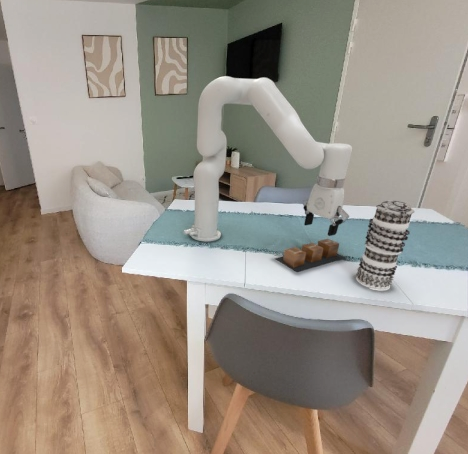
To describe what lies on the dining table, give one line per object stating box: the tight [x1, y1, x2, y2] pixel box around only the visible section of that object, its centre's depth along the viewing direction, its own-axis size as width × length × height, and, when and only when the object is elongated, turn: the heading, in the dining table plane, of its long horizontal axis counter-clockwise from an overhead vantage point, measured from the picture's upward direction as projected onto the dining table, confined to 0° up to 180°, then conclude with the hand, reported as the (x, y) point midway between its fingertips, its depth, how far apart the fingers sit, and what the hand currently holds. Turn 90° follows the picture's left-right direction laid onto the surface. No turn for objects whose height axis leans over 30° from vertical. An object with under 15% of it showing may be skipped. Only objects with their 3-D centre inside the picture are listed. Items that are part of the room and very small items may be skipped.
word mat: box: [274, 253, 346, 273], centre depth 101 cm, size 22×10×1 cm, turn 111°
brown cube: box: [300, 242, 323, 263], centre depth 100 cm, size 5×5×5 cm
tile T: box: [317, 238, 340, 258], centre depth 102 cm, size 5×5×5 cm
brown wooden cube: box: [283, 246, 306, 268], centre depth 98 cm, size 5×5×5 cm
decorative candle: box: [355, 200, 415, 292], centre depth 82 cm, size 9×9×25 cm
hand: (319, 229), depth 102 cm, fingers open, 9 cm apart
